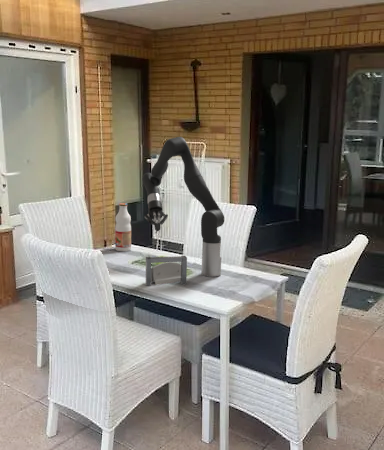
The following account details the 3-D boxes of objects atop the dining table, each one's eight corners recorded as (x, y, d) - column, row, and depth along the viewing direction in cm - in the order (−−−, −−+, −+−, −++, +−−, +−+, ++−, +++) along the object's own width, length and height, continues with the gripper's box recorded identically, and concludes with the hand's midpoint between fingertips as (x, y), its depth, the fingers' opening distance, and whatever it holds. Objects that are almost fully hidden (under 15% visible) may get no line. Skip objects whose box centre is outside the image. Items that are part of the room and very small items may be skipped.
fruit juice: (130, 251, 292) (130, 205, 287) (114, 251, 292) (114, 204, 286) (131, 248, 301) (132, 202, 296) (116, 247, 301) (116, 202, 296)
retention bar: (184, 281, 240) (185, 255, 237) (186, 284, 236) (187, 257, 233) (145, 283, 236) (145, 256, 233) (146, 285, 232) (146, 259, 229)
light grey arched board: (154, 285, 233) (152, 264, 235) (150, 285, 238) (148, 264, 239) (186, 280, 242) (183, 260, 243) (181, 281, 246) (178, 261, 247)
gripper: (143, 199, 264) (146, 226, 255) (167, 199, 267) (171, 226, 258) (141, 207, 270) (144, 234, 261) (165, 207, 273) (169, 234, 264)
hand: (157, 230), depth 259 cm, fingers closed
